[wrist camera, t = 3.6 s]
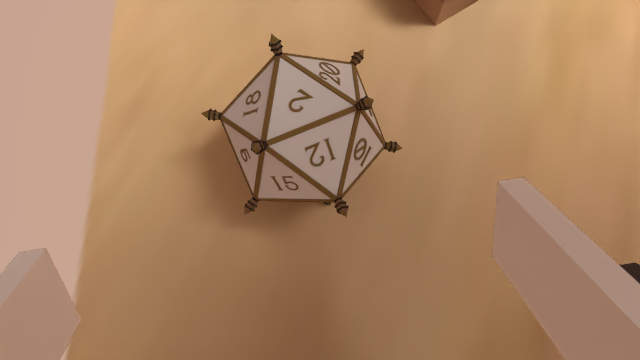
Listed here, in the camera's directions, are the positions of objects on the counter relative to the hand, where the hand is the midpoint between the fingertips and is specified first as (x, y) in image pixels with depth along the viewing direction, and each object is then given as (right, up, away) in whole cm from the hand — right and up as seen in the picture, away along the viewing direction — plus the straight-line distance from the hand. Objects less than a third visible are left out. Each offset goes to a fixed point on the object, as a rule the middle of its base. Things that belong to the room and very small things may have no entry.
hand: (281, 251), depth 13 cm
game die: (0, +3, +13) cm, 13 cm away
